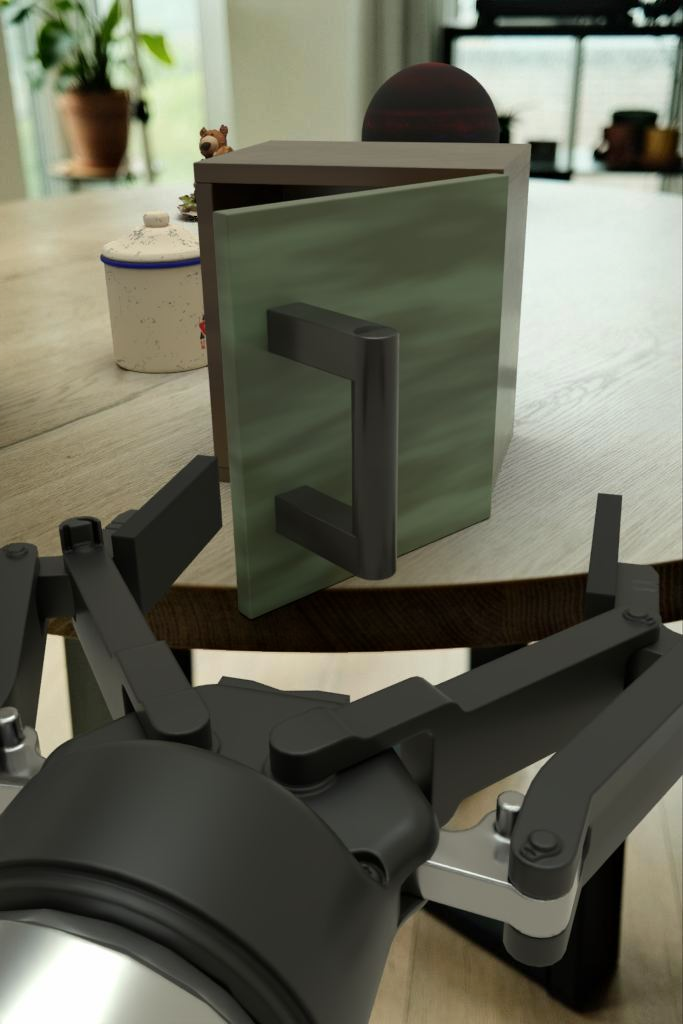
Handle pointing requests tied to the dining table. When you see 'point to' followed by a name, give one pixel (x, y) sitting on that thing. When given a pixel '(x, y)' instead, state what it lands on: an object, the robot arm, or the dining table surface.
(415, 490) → the door
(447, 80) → the decorative orb
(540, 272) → the dining table surface
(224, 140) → the bear figurine
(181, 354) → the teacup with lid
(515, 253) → the cupboard
